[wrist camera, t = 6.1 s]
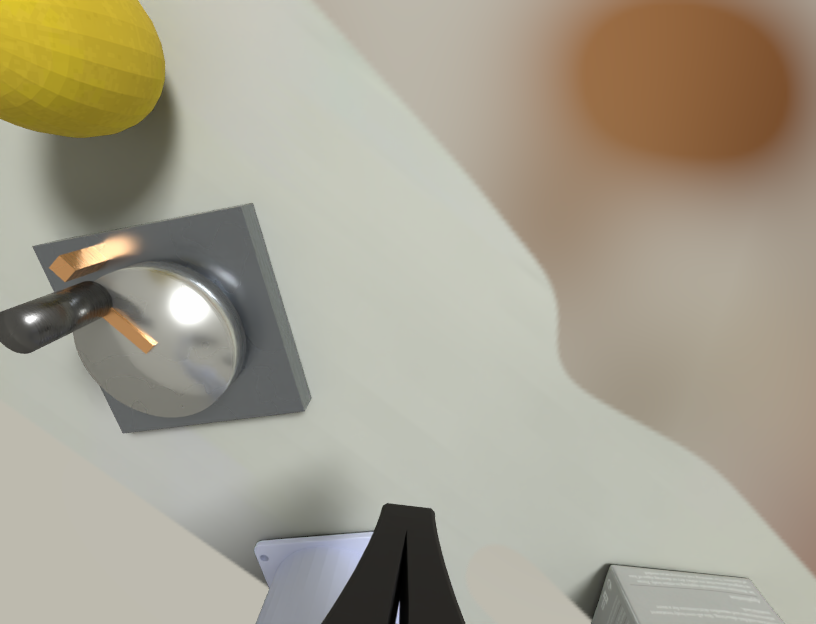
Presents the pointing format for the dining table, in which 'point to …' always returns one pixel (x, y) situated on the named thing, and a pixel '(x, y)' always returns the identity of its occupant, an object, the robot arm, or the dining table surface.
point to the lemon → (78, 65)
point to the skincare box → (679, 599)
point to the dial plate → (227, 268)
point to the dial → (141, 335)
